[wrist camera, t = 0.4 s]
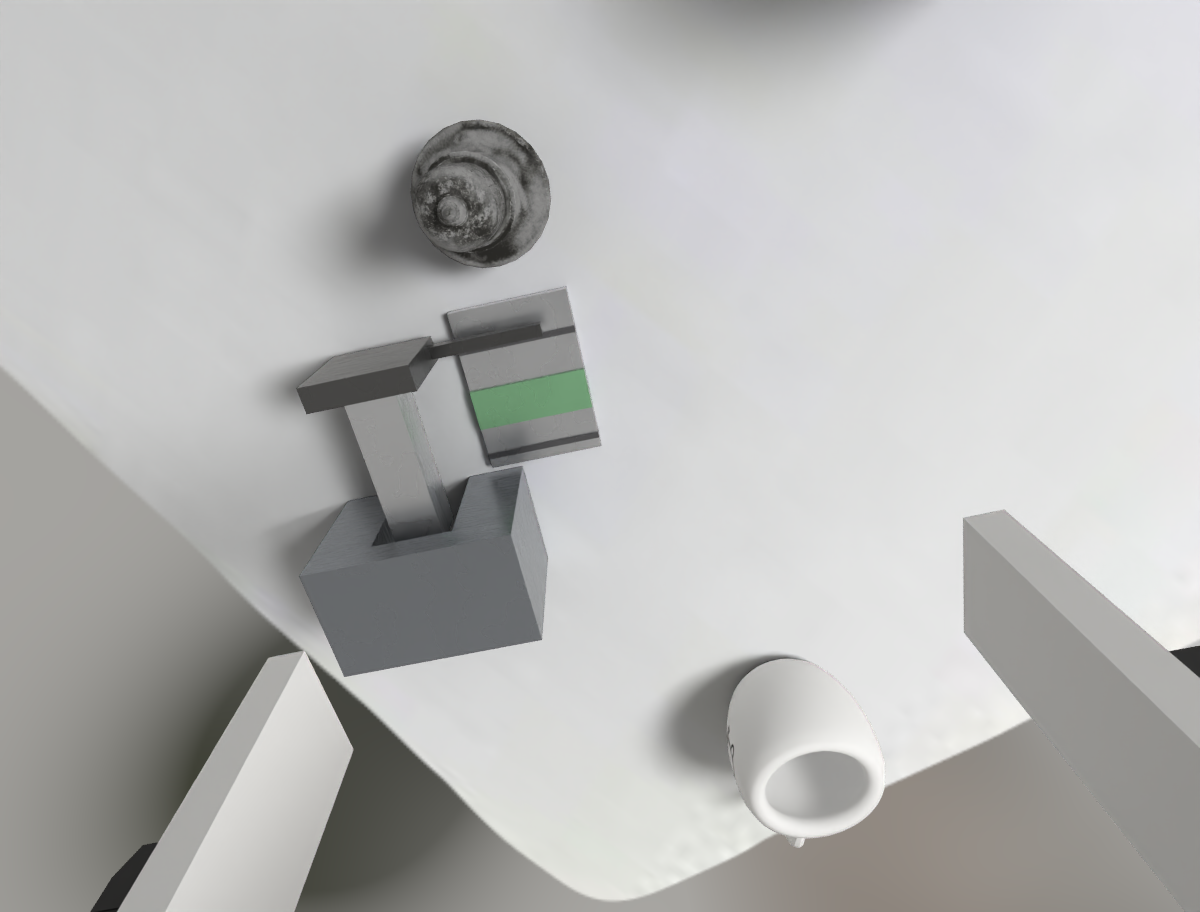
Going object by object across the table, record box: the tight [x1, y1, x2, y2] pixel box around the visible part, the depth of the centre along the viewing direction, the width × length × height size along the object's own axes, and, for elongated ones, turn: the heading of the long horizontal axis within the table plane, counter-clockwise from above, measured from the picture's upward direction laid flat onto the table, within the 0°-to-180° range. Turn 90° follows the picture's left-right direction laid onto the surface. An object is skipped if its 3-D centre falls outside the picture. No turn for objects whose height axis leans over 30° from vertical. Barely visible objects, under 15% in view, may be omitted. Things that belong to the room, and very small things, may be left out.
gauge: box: [299, 287, 601, 677], centre depth 35 cm, size 15×14×8 cm
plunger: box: [296, 321, 543, 542], centre depth 34 cm, size 9×10×5 cm
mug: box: [727, 659, 885, 848], centre depth 43 cm, size 12×8×8 cm
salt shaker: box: [411, 120, 551, 268], centre depth 27 cm, size 6×6×12 cm
